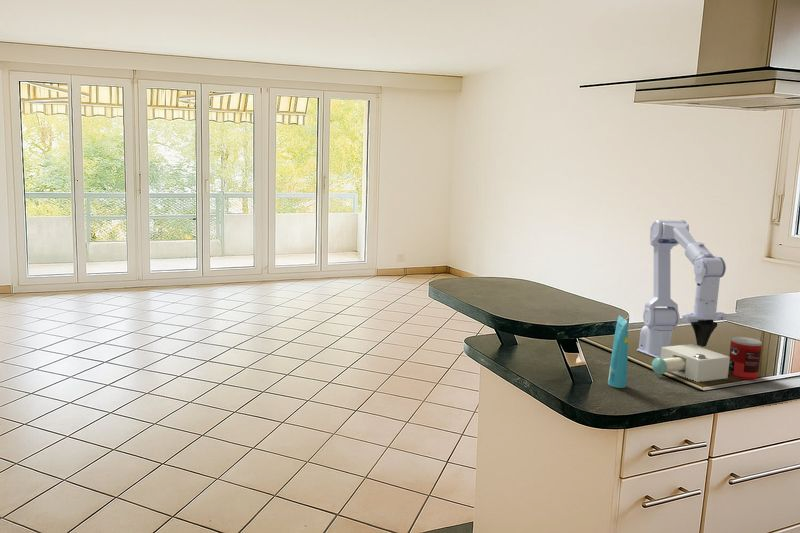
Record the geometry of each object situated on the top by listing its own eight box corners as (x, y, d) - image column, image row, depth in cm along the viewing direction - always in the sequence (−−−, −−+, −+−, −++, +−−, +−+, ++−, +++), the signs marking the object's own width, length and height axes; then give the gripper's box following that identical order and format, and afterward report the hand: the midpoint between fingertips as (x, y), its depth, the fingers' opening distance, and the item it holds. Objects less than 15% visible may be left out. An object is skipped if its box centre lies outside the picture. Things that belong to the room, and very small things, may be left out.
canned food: (730, 370, 188) (734, 335, 186) (760, 376, 183) (764, 340, 181) (724, 376, 182) (728, 339, 180) (755, 382, 177) (759, 345, 175)
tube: (630, 390, 168) (637, 321, 165) (613, 390, 168) (619, 321, 165) (619, 380, 175) (625, 314, 172) (603, 380, 175) (608, 314, 172)
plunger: (692, 367, 179) (694, 354, 178) (699, 366, 180) (700, 353, 179) (699, 370, 177) (701, 356, 176) (705, 369, 178) (707, 356, 177)
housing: (659, 367, 189) (661, 347, 188) (689, 363, 193) (691, 343, 192) (696, 382, 176) (698, 360, 175) (727, 378, 180) (729, 356, 179)
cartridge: (651, 371, 181) (652, 355, 181) (694, 366, 188) (695, 351, 187) (663, 376, 177) (665, 360, 176) (707, 371, 183) (708, 355, 182)
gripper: (698, 303, 169) (693, 351, 171) (737, 300, 174) (731, 347, 176) (678, 298, 175) (673, 344, 178) (716, 295, 181) (711, 340, 183)
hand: (701, 345), depth 177 cm, fingers closed
